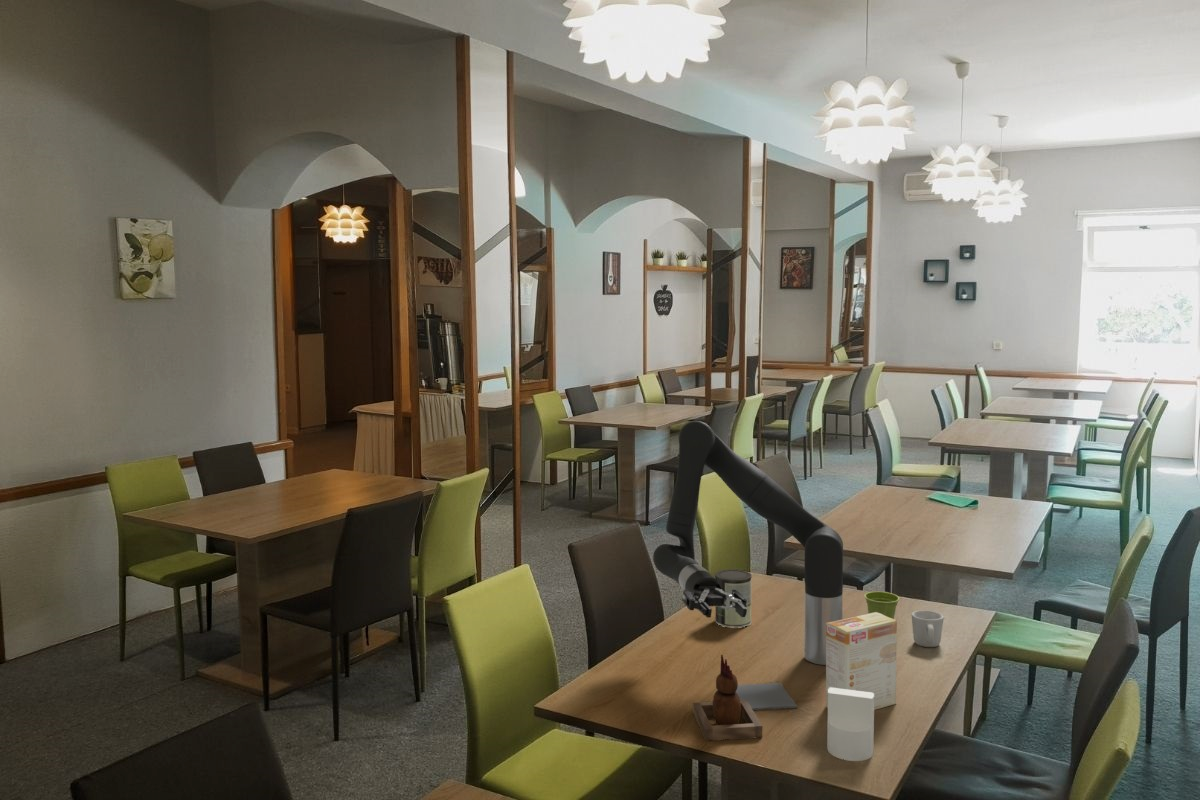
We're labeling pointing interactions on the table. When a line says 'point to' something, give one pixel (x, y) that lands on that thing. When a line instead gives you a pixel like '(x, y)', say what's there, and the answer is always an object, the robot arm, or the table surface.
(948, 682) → the table surface
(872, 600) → the plant pot
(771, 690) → the mat
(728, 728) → the square wooden frame
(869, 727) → the base with upright slab
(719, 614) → the coffee can
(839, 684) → the coffeecake box
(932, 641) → the cup
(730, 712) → the wooden figurine
